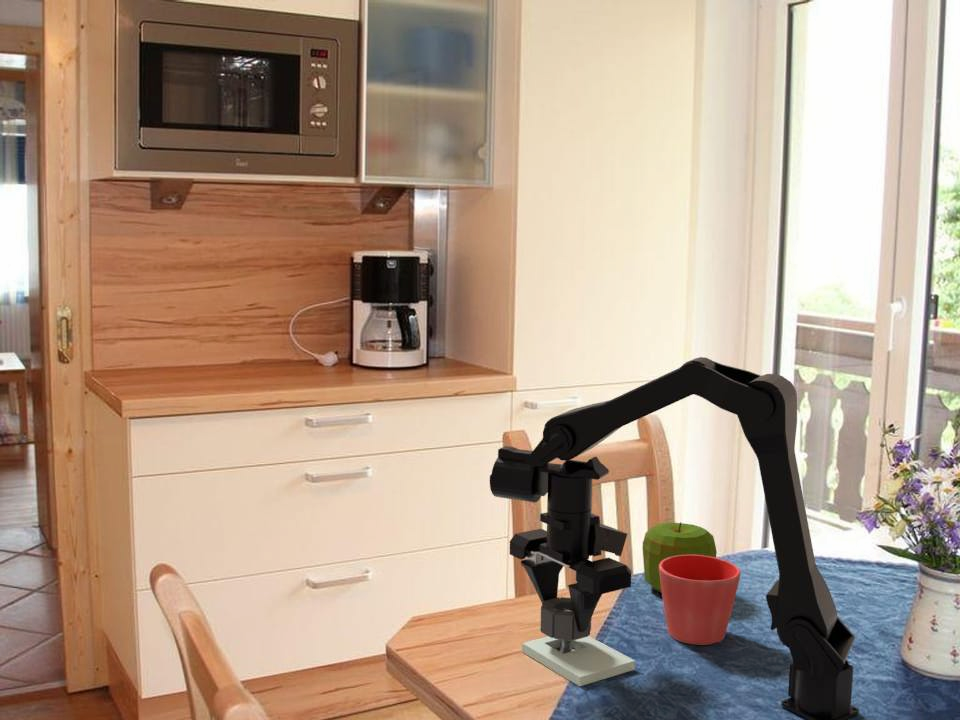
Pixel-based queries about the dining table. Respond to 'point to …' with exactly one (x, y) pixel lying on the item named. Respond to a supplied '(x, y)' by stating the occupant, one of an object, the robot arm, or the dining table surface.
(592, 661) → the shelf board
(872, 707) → the dining table surface
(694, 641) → the flower pot
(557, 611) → the grey octagonal ring
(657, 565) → the apple
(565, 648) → the grey metallic cylinder
